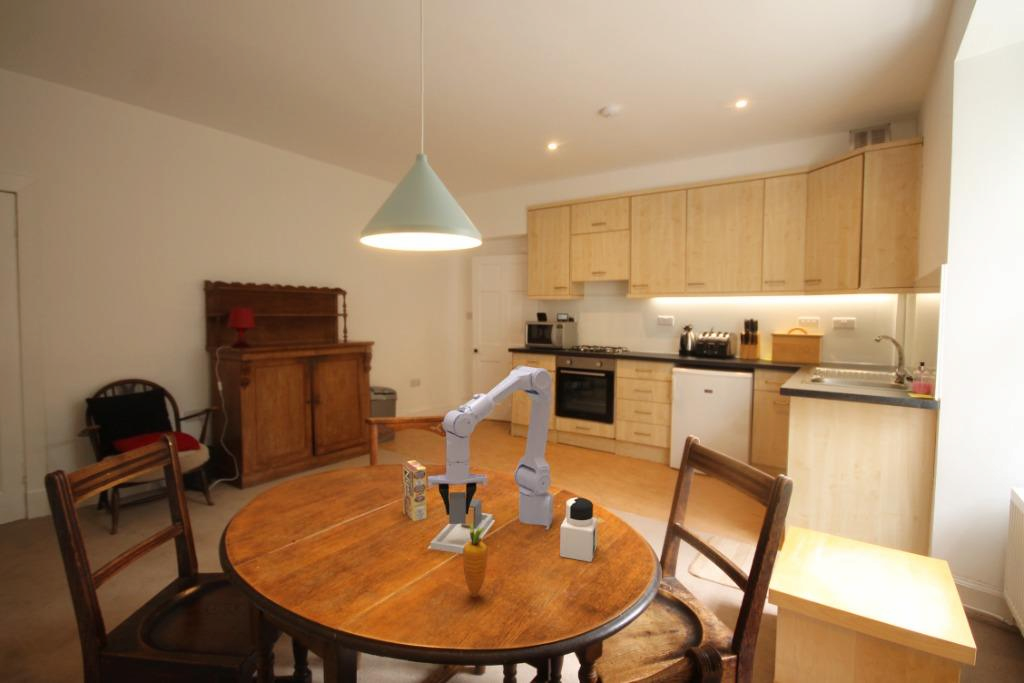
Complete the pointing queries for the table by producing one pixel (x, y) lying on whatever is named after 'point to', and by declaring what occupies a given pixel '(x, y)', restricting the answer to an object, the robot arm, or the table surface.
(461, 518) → the grey block orange top
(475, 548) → the carrot
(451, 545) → the white tray
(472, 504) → the grey toy block
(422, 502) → the candy box
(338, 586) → the table surface
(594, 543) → the container
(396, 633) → the table surface
